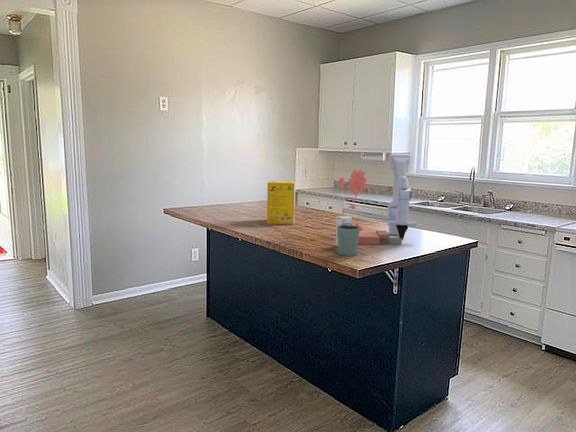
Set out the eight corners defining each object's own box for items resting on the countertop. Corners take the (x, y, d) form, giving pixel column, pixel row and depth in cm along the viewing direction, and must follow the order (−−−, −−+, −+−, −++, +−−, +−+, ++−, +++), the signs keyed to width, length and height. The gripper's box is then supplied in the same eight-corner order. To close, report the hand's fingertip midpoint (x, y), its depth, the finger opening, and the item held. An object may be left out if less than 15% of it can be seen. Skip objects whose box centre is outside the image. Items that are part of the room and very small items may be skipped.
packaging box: (269, 219, 285) (269, 180, 281) (294, 220, 284) (295, 181, 280) (266, 223, 269) (267, 182, 265) (293, 224, 268) (294, 183, 264)
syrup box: (340, 248, 207) (341, 217, 204) (335, 245, 212) (336, 215, 210) (351, 247, 208) (352, 217, 206) (346, 244, 214) (347, 215, 212)
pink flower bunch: (363, 237, 231) (368, 170, 227) (329, 230, 251) (332, 168, 247) (383, 235, 241) (387, 170, 236) (348, 228, 261) (351, 168, 256)
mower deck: (356, 237, 232) (356, 229, 232) (396, 238, 231) (397, 230, 230) (358, 243, 217) (359, 235, 216) (402, 245, 215) (402, 236, 215)
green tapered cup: (346, 257, 189) (347, 229, 188) (331, 252, 197) (332, 226, 196) (363, 254, 195) (364, 227, 193) (347, 249, 203) (348, 224, 202)
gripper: (389, 214, 217) (387, 241, 219) (419, 214, 217) (417, 242, 219) (387, 212, 224) (385, 238, 226) (416, 212, 223) (414, 239, 226)
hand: (401, 240), depth 223 cm, fingers closed
